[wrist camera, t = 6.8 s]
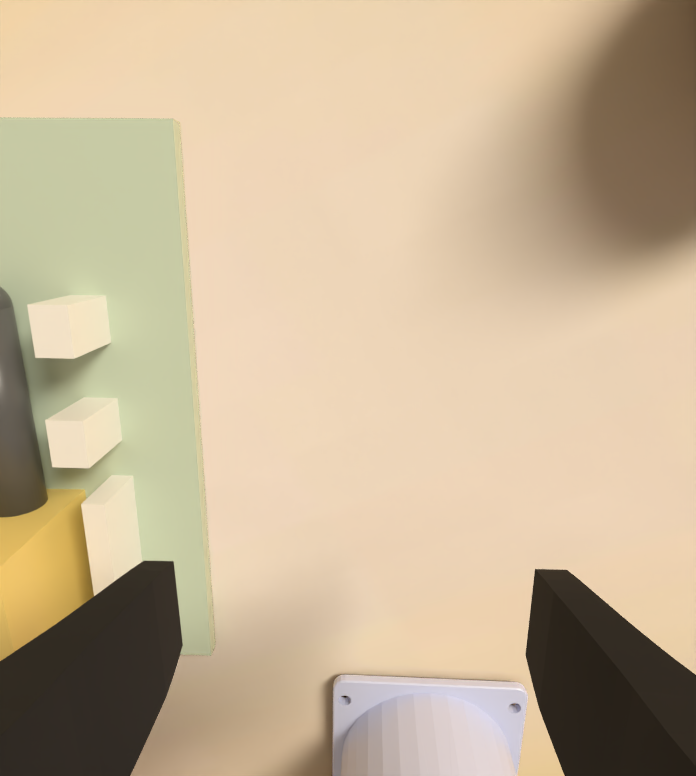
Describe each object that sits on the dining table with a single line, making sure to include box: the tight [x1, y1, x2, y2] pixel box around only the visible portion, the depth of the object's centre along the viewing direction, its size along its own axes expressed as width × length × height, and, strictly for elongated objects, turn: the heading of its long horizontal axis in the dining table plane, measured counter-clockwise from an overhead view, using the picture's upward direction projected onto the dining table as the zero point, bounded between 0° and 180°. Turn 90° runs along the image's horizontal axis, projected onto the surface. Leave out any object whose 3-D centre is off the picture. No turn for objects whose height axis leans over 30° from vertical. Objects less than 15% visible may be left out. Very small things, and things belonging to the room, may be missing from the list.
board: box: [0, 118, 215, 656], centre depth 19 cm, size 20×12×3 cm, turn 179°
